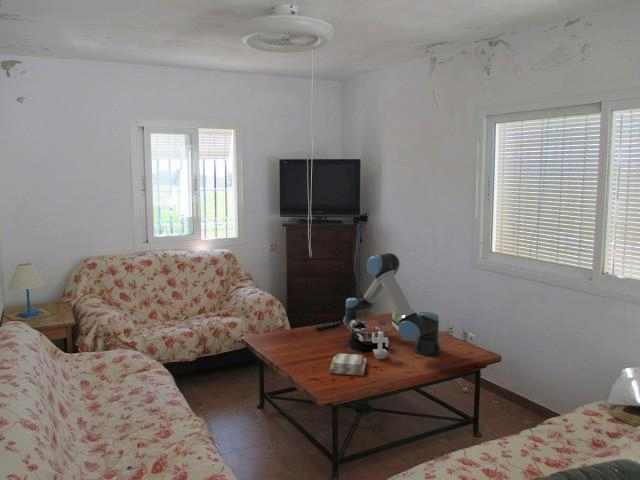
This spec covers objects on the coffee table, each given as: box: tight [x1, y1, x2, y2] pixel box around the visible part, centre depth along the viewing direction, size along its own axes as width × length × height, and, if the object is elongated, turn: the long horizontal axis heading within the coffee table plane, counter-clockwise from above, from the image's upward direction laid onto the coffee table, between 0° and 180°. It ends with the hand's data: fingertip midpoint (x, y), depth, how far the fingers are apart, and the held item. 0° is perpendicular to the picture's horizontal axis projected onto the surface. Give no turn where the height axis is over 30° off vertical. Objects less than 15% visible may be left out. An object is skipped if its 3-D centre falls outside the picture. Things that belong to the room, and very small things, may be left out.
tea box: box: [391, 305, 415, 332], centre depth 344 cm, size 15×10×15 cm, turn 14°
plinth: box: [328, 353, 367, 376], centre depth 279 cm, size 18×18×5 cm
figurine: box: [371, 331, 390, 360], centre depth 293 cm, size 7×9×15 cm
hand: (372, 337), depth 302 cm, fingers open, 13 cm apart
